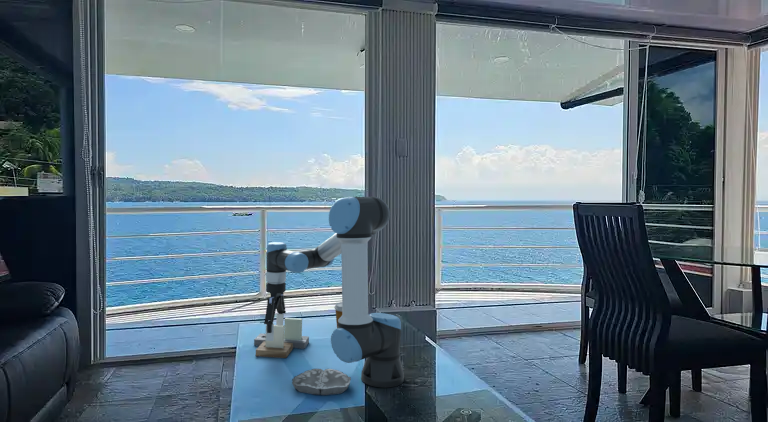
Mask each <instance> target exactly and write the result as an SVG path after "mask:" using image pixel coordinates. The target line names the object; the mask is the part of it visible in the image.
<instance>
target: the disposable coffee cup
mask: <svg viewBox="0 0 768 422" xmlns="http://www.w3.org/2000/svg"><path fill="white" fill-rule="evenodd" d="M334 310H335V318H336V319H335V320H336V329H337V328H338V319H339V318H340V317H341V316H342V301H341V302H337V303H335V305H334Z"/></svg>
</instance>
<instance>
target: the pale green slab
mask: <svg viewBox="0 0 768 422" xmlns="http://www.w3.org/2000/svg"><path fill="white" fill-rule="evenodd" d="M284 325H285V324H283V325H276V324H274V340H273V341H266V340H265V347H270V348H284Z"/></svg>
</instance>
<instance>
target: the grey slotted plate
mask: <svg viewBox="0 0 768 422" xmlns="http://www.w3.org/2000/svg"><path fill="white" fill-rule="evenodd" d="M265 340H266V333H261V332H260V333H259V334H258V335H257V336H256V337H254V339H253V345H254V346H256V347H259V346H260V345H261V344H262V343H263V342H264V341H265ZM284 343H293V349H300V350H301V349H303V350H304V349H306V347H307V346H308V344H309V343H310V336H308V335H307V336H304V335H302V340H292V339H284Z"/></svg>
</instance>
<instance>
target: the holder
mask: <svg viewBox="0 0 768 422" xmlns="http://www.w3.org/2000/svg"><path fill="white" fill-rule="evenodd" d="M293 350H294V348H293V343H284V348H270V347H265V341H264V342H263V343H262V344H261V345H260V346H257V348H255V357H263V358H276V359H277V358H280V359H287V357H288V356H289V355H290V353H291V352H292V351H293Z"/></svg>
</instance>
